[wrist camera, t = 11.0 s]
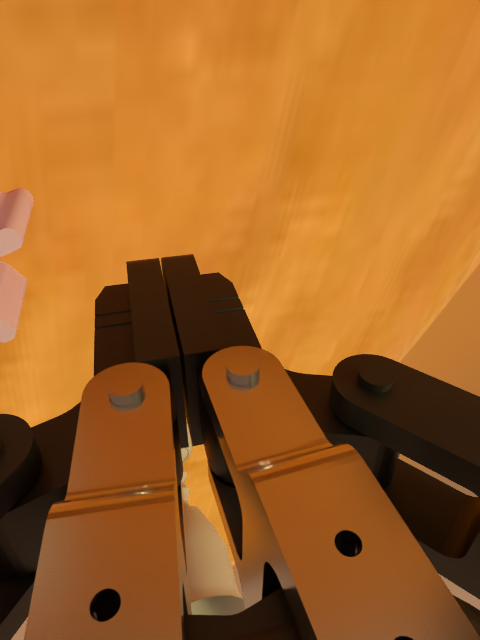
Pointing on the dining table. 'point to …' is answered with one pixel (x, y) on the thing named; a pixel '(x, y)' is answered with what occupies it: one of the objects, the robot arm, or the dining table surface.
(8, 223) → the clip
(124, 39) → the dining table surface
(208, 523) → the chalice
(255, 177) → the dining table surface
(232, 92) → the dining table surface
